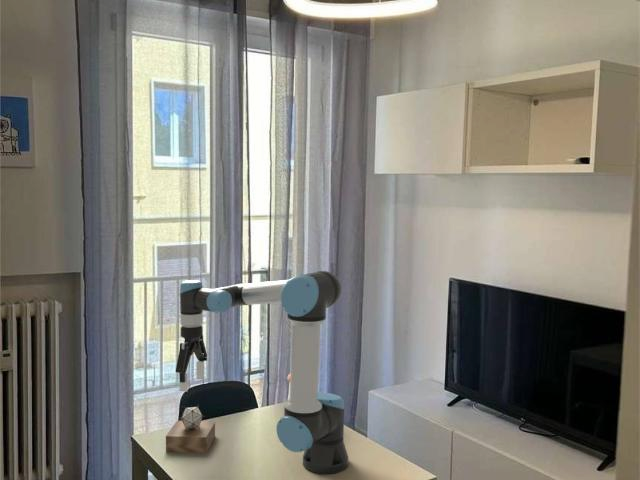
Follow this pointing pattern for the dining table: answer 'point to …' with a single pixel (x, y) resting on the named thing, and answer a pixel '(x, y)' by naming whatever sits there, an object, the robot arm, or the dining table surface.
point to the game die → (192, 417)
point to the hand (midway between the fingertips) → (192, 384)
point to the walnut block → (190, 438)
